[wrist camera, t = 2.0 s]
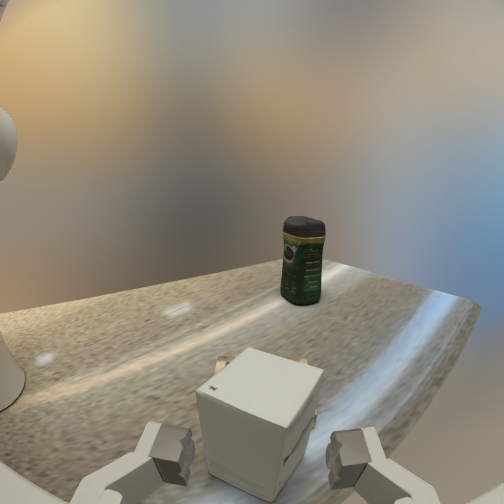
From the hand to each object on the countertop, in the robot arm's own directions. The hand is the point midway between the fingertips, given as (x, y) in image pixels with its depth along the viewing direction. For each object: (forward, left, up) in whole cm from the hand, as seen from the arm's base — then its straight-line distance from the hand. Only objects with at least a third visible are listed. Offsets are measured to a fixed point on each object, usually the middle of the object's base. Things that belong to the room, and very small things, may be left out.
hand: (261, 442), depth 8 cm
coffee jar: (+26, +48, -18) cm, 58 cm away
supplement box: (+3, +9, -18) cm, 21 cm away
